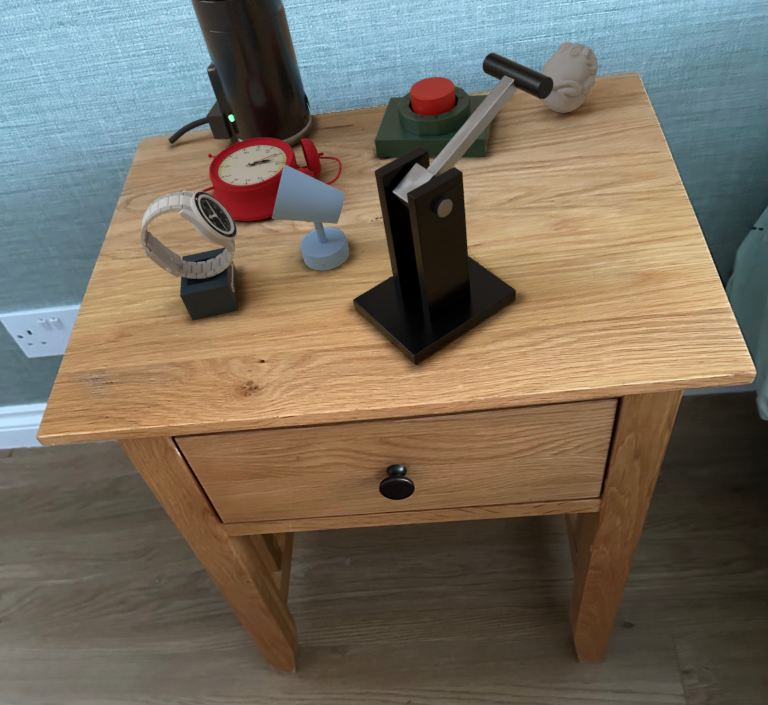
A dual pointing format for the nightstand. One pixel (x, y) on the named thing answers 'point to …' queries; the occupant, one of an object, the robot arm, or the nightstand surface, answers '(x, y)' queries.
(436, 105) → the button
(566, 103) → the grey rounded piece
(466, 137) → the lever
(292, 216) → the spotlight
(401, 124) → the button block
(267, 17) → the robot arm
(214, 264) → the watch
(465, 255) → the bracket
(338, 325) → the nightstand surface
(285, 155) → the alarm clock
